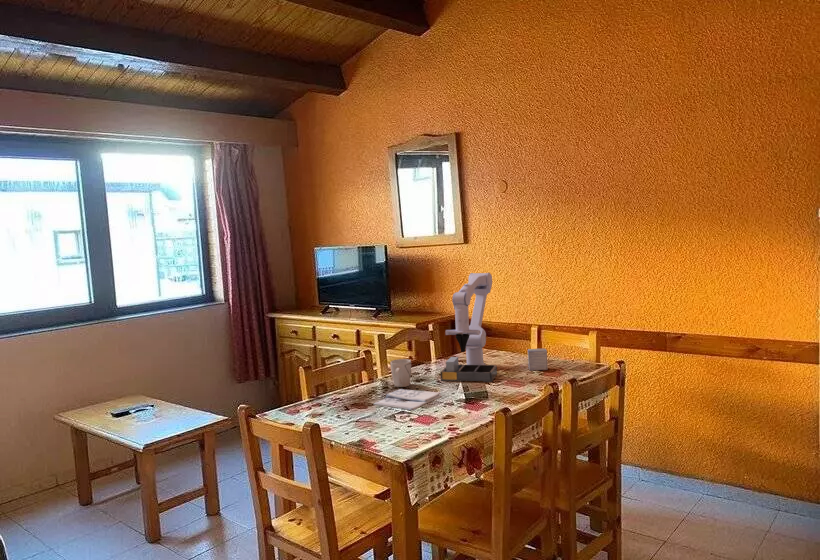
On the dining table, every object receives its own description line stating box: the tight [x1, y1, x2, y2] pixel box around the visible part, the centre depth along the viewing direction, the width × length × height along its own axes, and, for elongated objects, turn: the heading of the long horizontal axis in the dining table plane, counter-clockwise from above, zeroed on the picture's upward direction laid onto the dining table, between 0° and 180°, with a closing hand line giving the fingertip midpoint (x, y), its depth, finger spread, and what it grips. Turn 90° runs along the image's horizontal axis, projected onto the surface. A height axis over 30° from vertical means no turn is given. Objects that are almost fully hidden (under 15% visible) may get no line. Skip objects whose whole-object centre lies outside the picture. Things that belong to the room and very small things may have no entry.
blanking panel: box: [445, 356, 460, 372], centre depth 259 cm, size 9×3×7 cm, turn 163°
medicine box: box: [527, 348, 549, 371], centre depth 265 cm, size 8×4×9 cm, turn 84°
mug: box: [390, 358, 412, 388], centre depth 249 cm, size 11×8×10 cm
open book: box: [373, 388, 442, 411], centre depth 229 cm, size 19×20×2 cm
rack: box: [440, 364, 498, 383], centre depth 258 cm, size 14×21×4 cm, turn 73°
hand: (463, 351), depth 263 cm, fingers closed
